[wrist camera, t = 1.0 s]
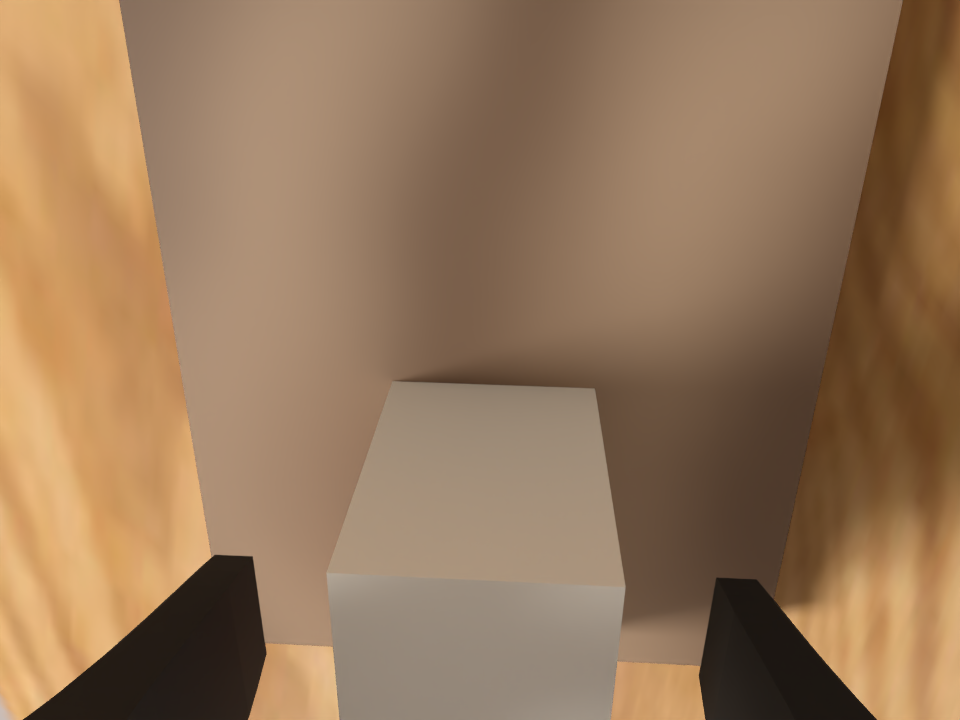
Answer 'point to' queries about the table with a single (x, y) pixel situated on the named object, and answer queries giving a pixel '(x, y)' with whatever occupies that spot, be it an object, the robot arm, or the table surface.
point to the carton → (479, 560)
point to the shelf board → (508, 254)
